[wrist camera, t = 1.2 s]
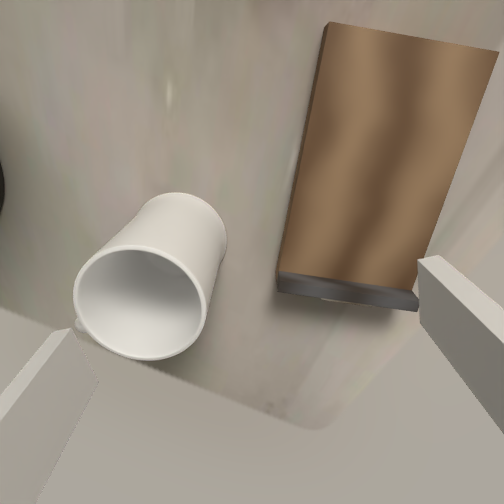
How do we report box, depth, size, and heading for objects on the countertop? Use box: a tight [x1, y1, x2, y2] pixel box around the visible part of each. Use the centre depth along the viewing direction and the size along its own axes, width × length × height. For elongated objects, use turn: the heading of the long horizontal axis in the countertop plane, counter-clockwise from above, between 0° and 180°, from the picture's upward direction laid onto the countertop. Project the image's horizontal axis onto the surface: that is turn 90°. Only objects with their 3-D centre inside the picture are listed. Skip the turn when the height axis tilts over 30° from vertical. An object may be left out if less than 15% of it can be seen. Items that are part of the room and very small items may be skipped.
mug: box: [73, 193, 227, 361], centre depth 28 cm, size 12×8×12 cm
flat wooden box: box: [276, 22, 499, 312], centre depth 28 cm, size 12×20×4 cm, turn 171°
